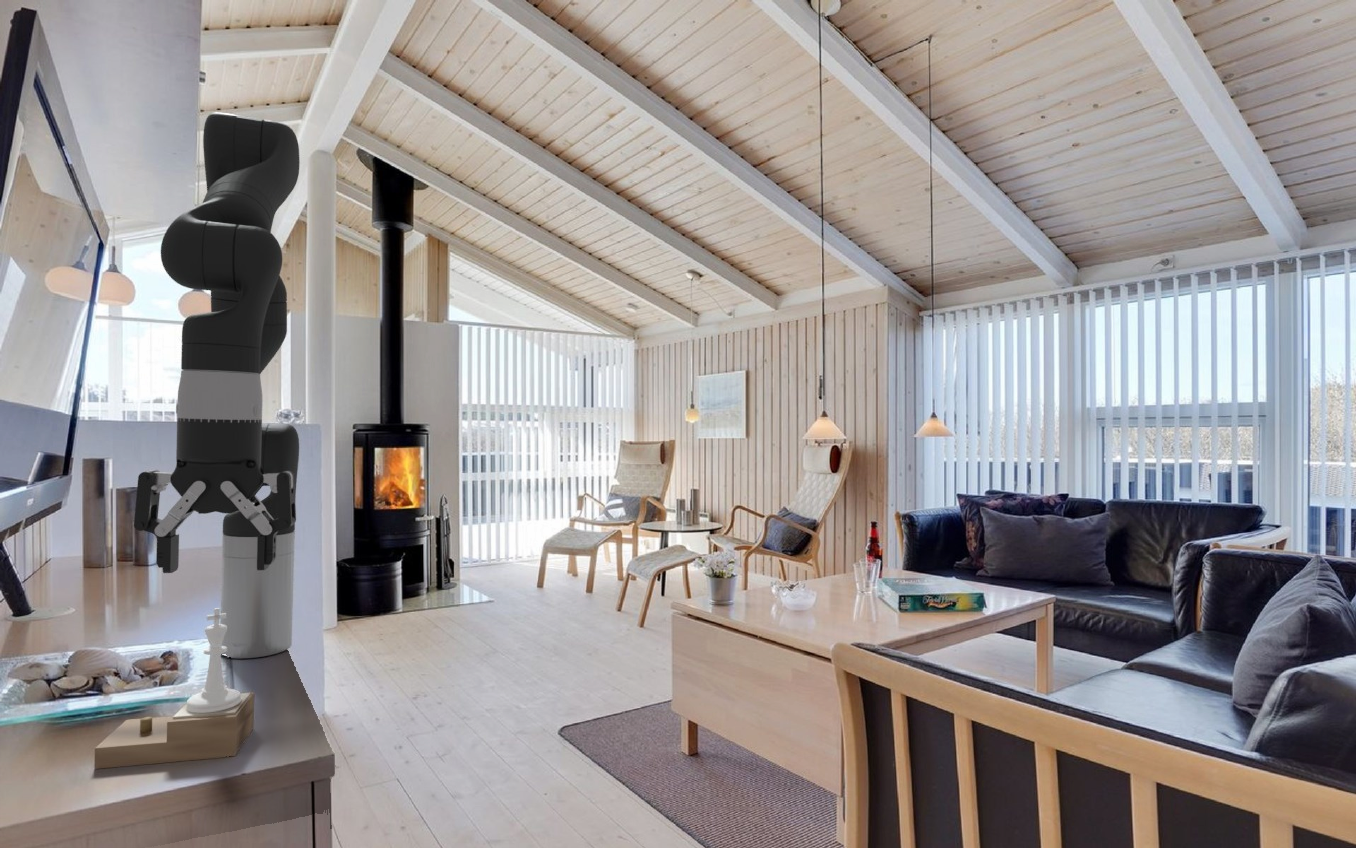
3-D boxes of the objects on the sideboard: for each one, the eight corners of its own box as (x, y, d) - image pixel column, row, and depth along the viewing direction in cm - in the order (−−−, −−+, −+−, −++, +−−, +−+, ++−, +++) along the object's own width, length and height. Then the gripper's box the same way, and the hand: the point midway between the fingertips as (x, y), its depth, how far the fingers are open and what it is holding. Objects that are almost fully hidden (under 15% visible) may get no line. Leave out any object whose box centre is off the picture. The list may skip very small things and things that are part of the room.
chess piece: (246, 705, 77) (248, 610, 77) (189, 717, 73) (192, 617, 73) (236, 692, 80) (238, 600, 80) (182, 702, 77) (184, 607, 77)
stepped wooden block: (126, 738, 78) (127, 699, 78) (253, 728, 81) (254, 690, 81) (94, 769, 71) (95, 725, 71) (234, 756, 74) (235, 714, 74)
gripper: (303, 417, 82) (300, 561, 82) (156, 413, 78) (152, 564, 78) (288, 418, 75) (284, 576, 75) (124, 413, 71) (121, 581, 71)
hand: (217, 570), depth 77 cm, fingers open, 8 cm apart
